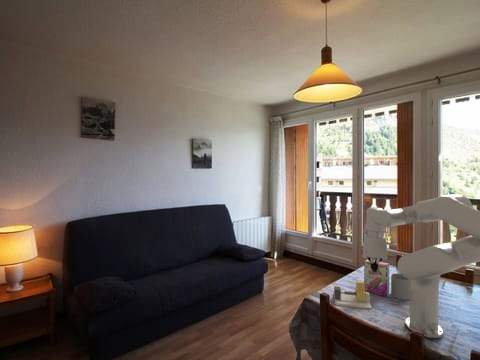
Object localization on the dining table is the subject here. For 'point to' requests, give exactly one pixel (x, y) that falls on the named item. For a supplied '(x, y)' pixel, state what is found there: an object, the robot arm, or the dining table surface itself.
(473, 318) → the dining table surface
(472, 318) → the dining table surface
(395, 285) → the cup
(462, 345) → the dining table surface
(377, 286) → the candy bar box
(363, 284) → the yellow tall block
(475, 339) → the dining table surface
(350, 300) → the shallow white tray
